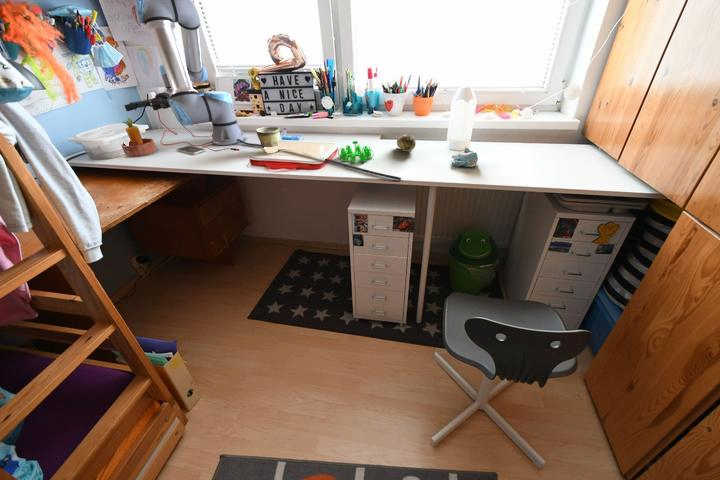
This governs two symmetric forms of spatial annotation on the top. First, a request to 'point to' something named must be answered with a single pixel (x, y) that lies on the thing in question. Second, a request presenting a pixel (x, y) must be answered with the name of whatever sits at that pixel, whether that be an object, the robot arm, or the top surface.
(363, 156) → the chandelier
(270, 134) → the ceramic cup
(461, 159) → the stuffed animal
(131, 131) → the carrot
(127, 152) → the bowl
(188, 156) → the top surface
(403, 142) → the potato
